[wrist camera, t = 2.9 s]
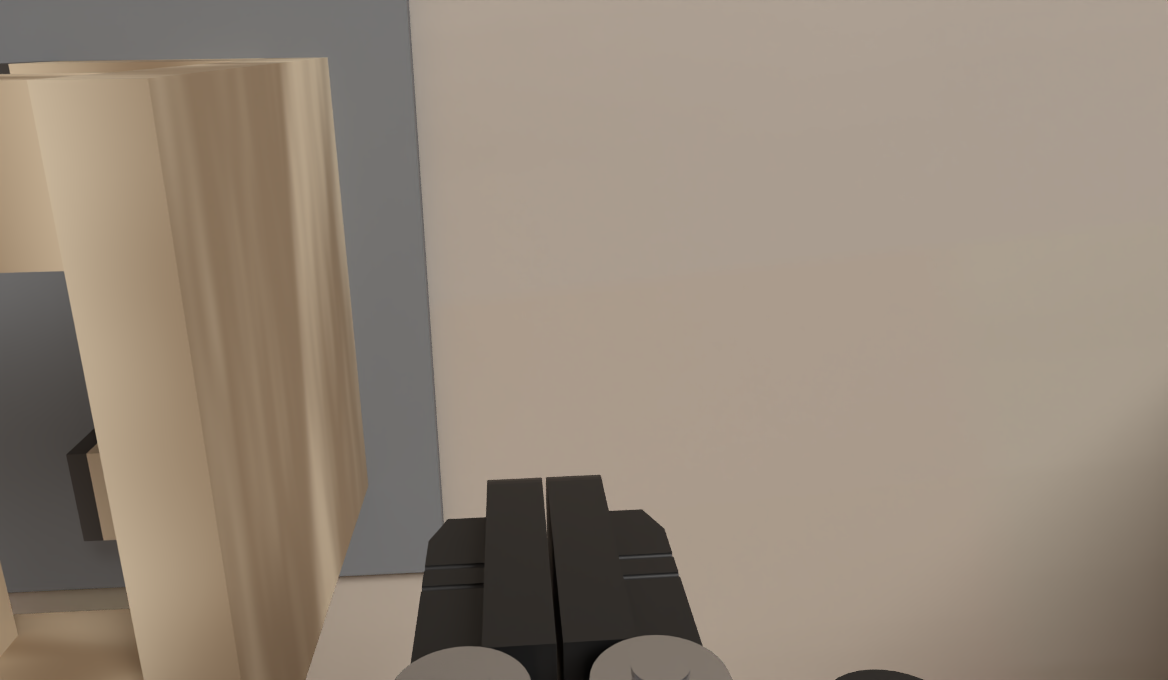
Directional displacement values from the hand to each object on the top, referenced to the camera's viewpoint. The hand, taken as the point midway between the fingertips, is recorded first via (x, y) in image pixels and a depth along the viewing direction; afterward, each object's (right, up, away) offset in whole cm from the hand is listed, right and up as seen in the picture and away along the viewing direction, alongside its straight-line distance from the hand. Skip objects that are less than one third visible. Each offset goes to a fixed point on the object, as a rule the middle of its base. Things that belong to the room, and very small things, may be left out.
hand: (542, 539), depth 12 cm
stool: (-9, +4, +13) cm, 16 cm away
